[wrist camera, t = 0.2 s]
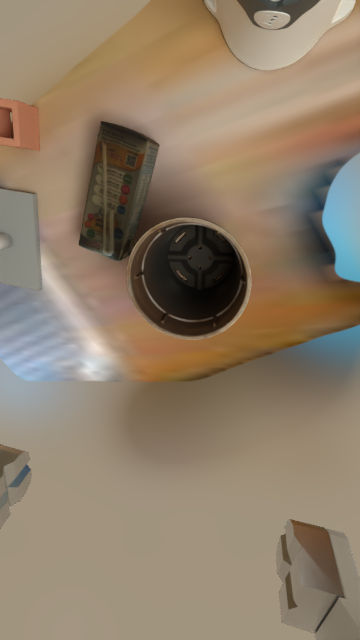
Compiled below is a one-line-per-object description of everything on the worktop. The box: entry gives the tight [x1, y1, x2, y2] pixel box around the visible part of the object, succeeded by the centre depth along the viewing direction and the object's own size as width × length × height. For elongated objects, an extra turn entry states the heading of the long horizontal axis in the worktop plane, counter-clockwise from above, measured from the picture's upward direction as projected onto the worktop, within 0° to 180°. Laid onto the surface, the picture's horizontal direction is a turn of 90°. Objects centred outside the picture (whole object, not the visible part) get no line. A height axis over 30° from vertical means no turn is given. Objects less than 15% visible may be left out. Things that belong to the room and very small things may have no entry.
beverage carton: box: [79, 121, 159, 262], centre depth 50 cm, size 8×19×7 cm, turn 161°
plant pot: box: [126, 218, 251, 340], centre depth 47 cm, size 16×16×16 cm
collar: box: [0, 99, 40, 150], centre depth 49 cm, size 6×6×5 cm
